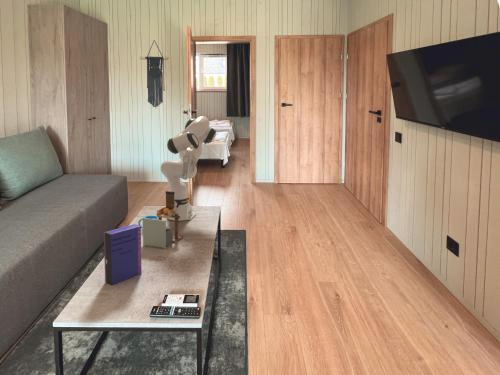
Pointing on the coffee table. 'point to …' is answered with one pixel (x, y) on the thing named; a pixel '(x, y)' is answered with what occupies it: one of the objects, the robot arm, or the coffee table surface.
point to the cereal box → (122, 253)
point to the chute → (168, 206)
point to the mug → (148, 218)
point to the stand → (176, 236)
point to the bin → (156, 233)
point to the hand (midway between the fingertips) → (183, 169)
